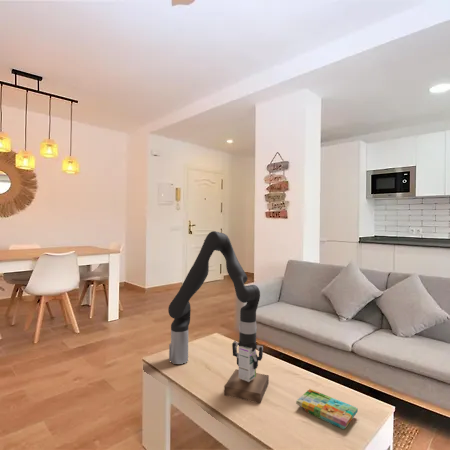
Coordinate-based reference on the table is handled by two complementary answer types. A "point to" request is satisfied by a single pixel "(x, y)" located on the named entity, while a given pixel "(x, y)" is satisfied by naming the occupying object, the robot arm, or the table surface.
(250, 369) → the syrup box
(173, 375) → the table surface
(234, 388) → the walnut base
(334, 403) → the puzzle game
